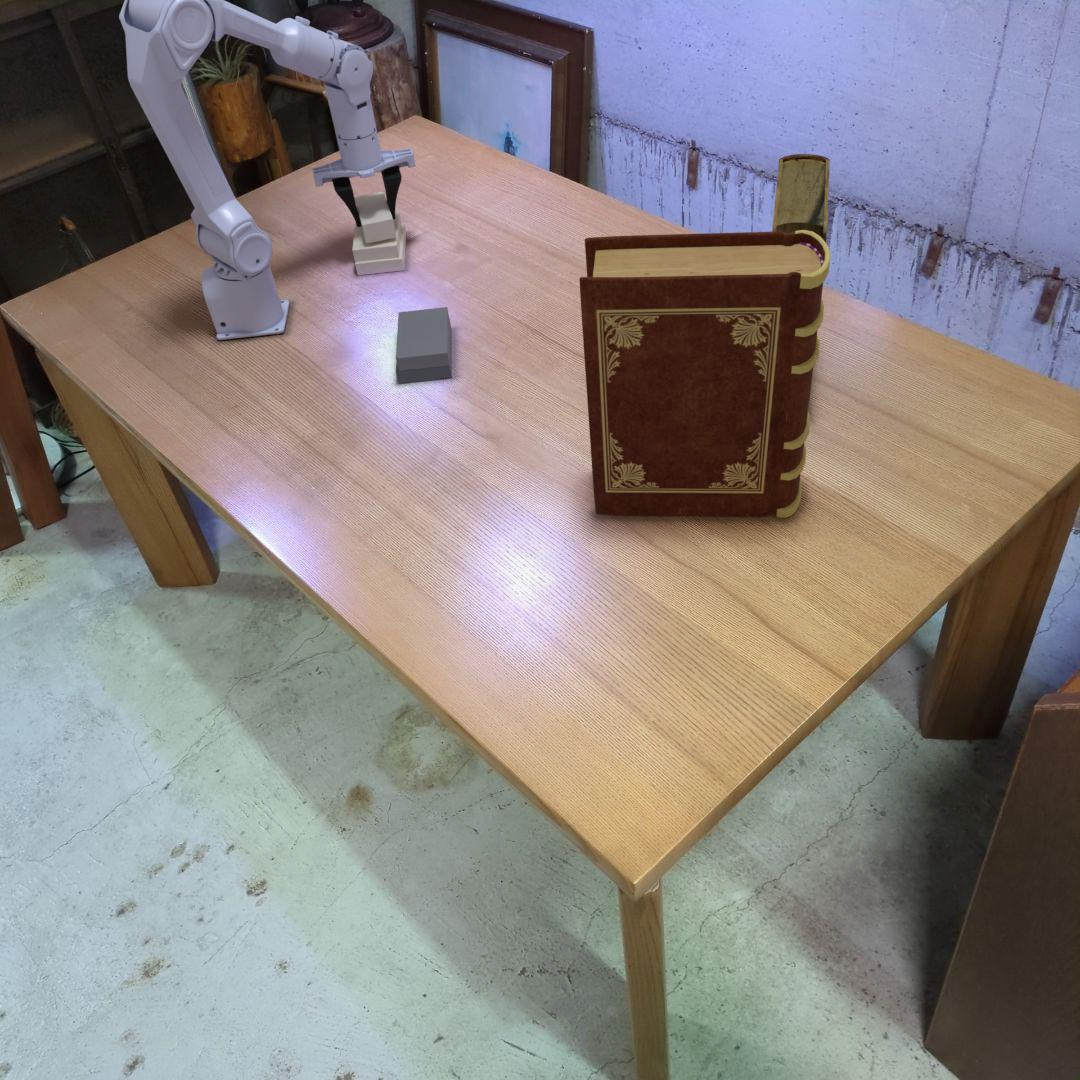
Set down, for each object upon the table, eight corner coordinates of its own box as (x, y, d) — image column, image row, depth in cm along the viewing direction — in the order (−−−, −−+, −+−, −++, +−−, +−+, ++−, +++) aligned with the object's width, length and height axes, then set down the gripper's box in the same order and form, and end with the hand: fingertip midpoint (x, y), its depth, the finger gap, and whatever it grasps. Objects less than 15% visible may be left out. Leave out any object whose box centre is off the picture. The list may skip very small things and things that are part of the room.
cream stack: (357, 275, 157) (351, 251, 154) (361, 238, 165) (356, 214, 162) (404, 270, 157) (399, 246, 154) (406, 233, 165) (401, 209, 162)
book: (765, 338, 137) (779, 153, 119) (809, 340, 136) (829, 154, 118) (758, 418, 126) (772, 227, 108) (805, 421, 125) (827, 229, 107)
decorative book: (798, 469, 119) (826, 227, 98) (803, 519, 114) (834, 274, 92) (599, 469, 122) (584, 234, 101) (595, 517, 116) (578, 280, 95)
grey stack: (398, 384, 137) (392, 358, 134) (400, 335, 145) (395, 310, 142) (451, 378, 137) (447, 352, 134) (451, 330, 145) (447, 305, 142)
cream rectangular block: (366, 243, 154) (362, 225, 152) (357, 215, 160) (353, 197, 158) (396, 237, 155) (392, 218, 153) (386, 209, 161) (383, 191, 159)
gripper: (307, 153, 144) (330, 243, 153) (411, 132, 145) (427, 222, 155) (302, 132, 148) (324, 220, 158) (403, 112, 150) (419, 200, 160)
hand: (375, 220), depth 157 cm, fingers closed on cream rectangular block, 4 cm apart
